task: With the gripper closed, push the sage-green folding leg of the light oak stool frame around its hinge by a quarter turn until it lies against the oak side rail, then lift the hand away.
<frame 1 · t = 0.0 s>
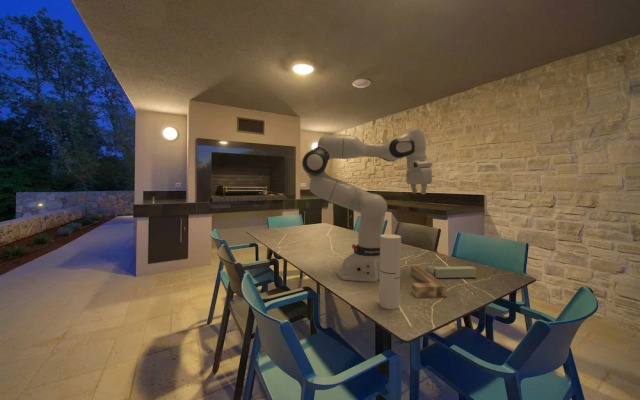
hand: (418, 193, 120), 39 cm above the table, tool pointing down, fingers open, 8 cm apart
folding leg: (449, 271, 118), point 3 cm above the table, hinge at 0.0°
stool frame: (427, 284, 110), on the table
cylindrical container: (389, 304, 92), on the table
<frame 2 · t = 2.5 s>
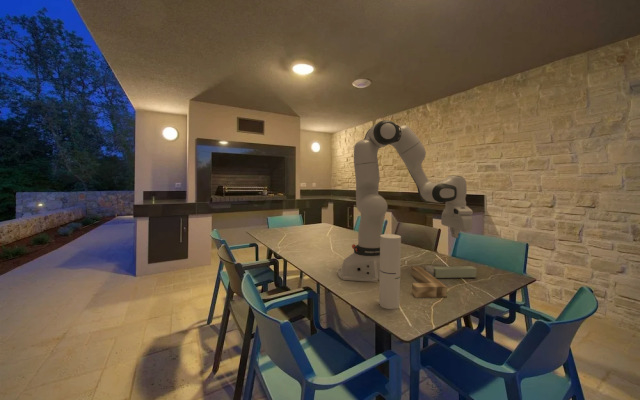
hand: (454, 237, 124), 17 cm above the table, tool pointing down, fingers closed
nothing on the table moved.
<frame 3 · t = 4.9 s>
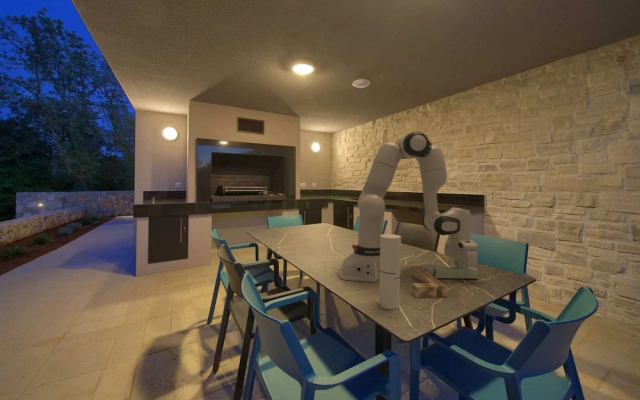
hand: (458, 270, 120), 3 cm above the table, tool pointing down, fingers closed
folding leg: (450, 272, 117), point 3 cm above the table, hinge at -4.5°, touching gripper
everything else where it was.
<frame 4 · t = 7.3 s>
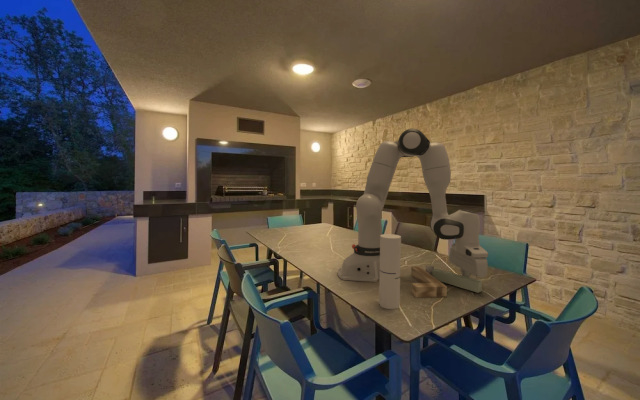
hand: (465, 279, 108), 3 cm above the table, tool pointing down, fingers closed
folding leg: (450, 277, 110), point 3 cm above the table, hinge at -54.3°, touching gripper
everything else where it was.
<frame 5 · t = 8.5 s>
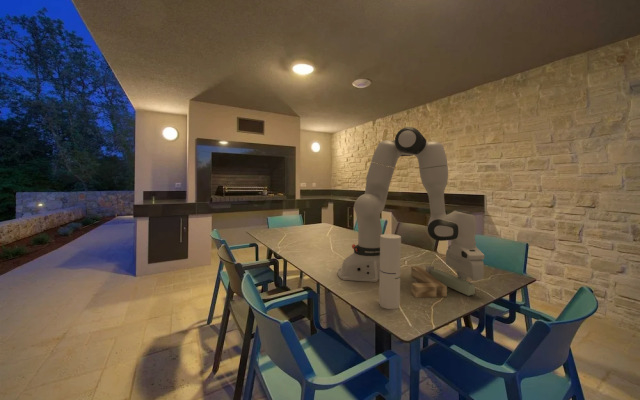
hand: (461, 282, 106), 3 cm above the table, tool pointing down, fingers closed
folding leg: (447, 279, 109), point 3 cm above the table, hinge at -70.6°, touching gripper
everything else where it was.
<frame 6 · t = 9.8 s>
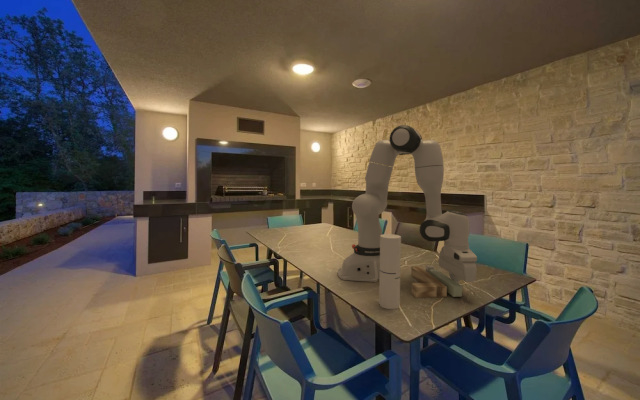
hand: (454, 284, 103), 3 cm above the table, tool pointing down, fingers closed, pressing on folding leg
folding leg: (441, 279, 108), point 3 cm above the table, hinge at -87.8°, touching gripper
everything else where it was.
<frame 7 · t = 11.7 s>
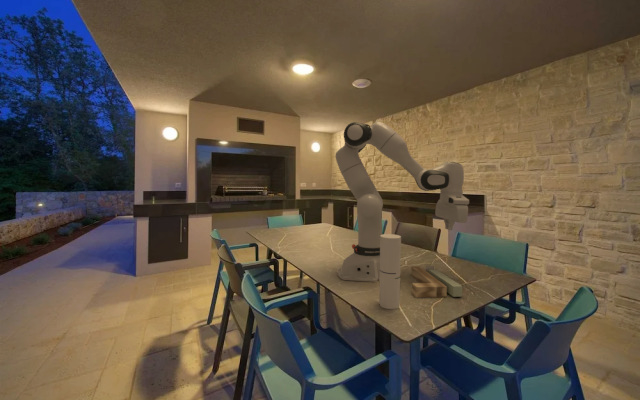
hand: (448, 229, 114), 23 cm above the table, tool pointing down, fingers closed
folding leg: (441, 279, 108), point 3 cm above the table, hinge at -87.8°
everything else where it was.
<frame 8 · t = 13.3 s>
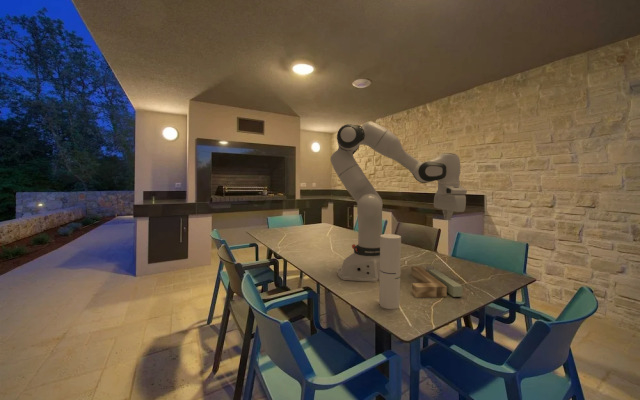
hand: (447, 219, 115), 27 cm above the table, tool pointing down, fingers closed
nothing on the table moved.
at the end: folding leg at -88° (first picture: +0°) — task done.
